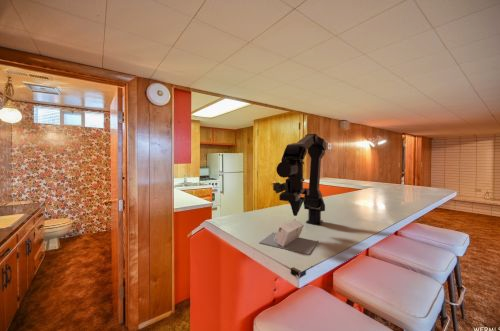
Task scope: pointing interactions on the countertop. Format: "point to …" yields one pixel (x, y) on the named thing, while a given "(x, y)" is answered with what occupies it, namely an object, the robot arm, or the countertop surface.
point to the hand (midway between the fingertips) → (295, 215)
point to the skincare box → (288, 232)
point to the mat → (292, 244)
